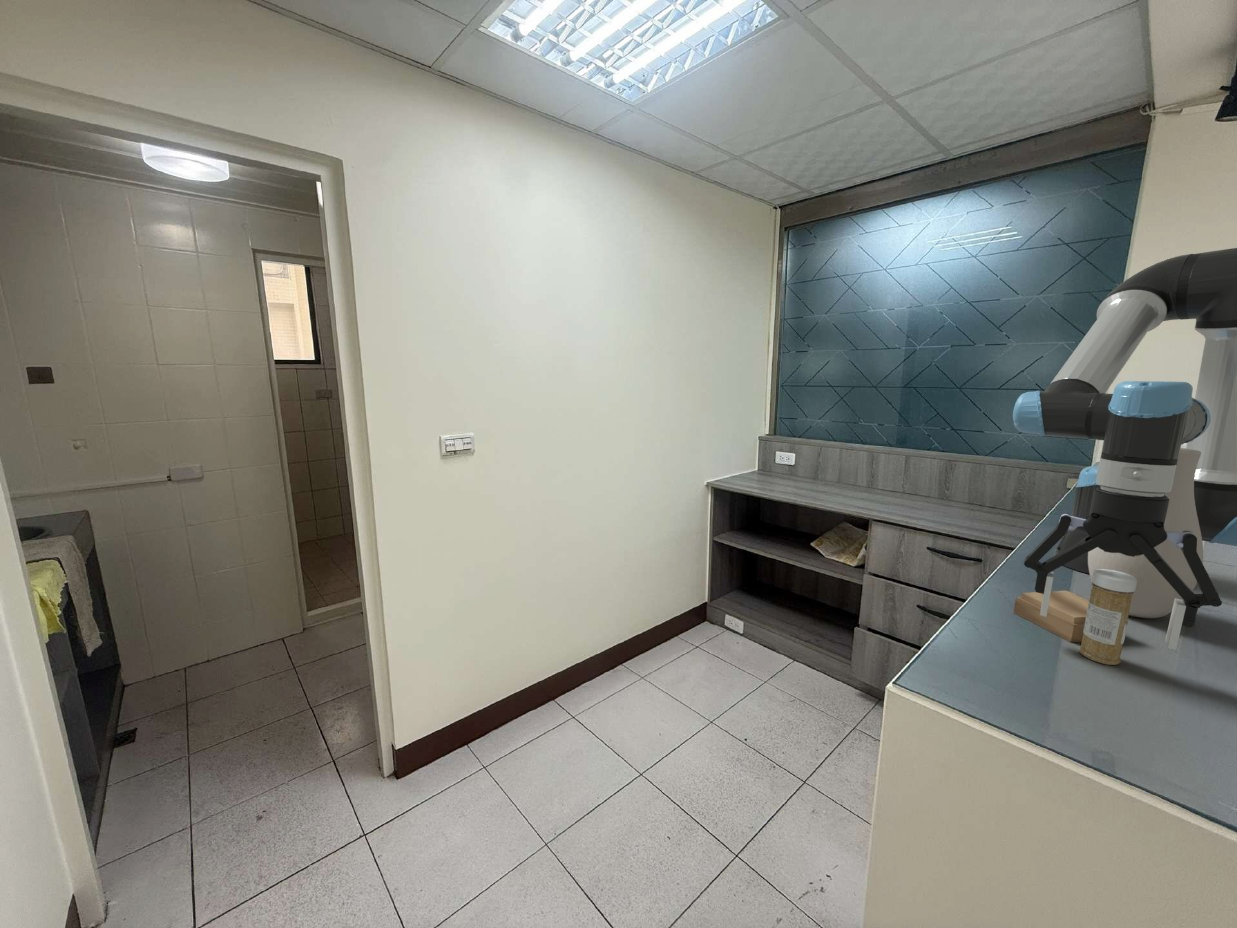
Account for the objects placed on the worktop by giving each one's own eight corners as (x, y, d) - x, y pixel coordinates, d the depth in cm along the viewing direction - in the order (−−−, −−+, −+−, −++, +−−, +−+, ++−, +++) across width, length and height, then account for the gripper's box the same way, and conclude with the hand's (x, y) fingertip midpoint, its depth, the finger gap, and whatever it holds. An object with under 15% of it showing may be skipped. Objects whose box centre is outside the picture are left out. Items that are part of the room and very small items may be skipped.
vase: (1188, 613, 88) (1226, 449, 83) (1188, 639, 79) (1231, 457, 74) (1084, 588, 98) (1112, 440, 93) (1074, 609, 89) (1104, 447, 84)
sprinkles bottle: (1128, 663, 72) (1146, 578, 70) (1104, 667, 71) (1122, 581, 69) (1092, 647, 77) (1108, 566, 74) (1070, 650, 76) (1085, 569, 73)
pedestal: (1061, 609, 89) (1065, 589, 88) (1124, 638, 79) (1129, 615, 79) (1013, 612, 88) (1016, 591, 87) (1070, 642, 78) (1075, 619, 77)
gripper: (1017, 481, 75) (996, 609, 79) (1282, 512, 59) (1240, 673, 62) (1020, 474, 81) (1001, 594, 84) (1265, 501, 64) (1227, 650, 68)
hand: (1103, 628), depth 73 cm, fingers open, 13 cm apart
